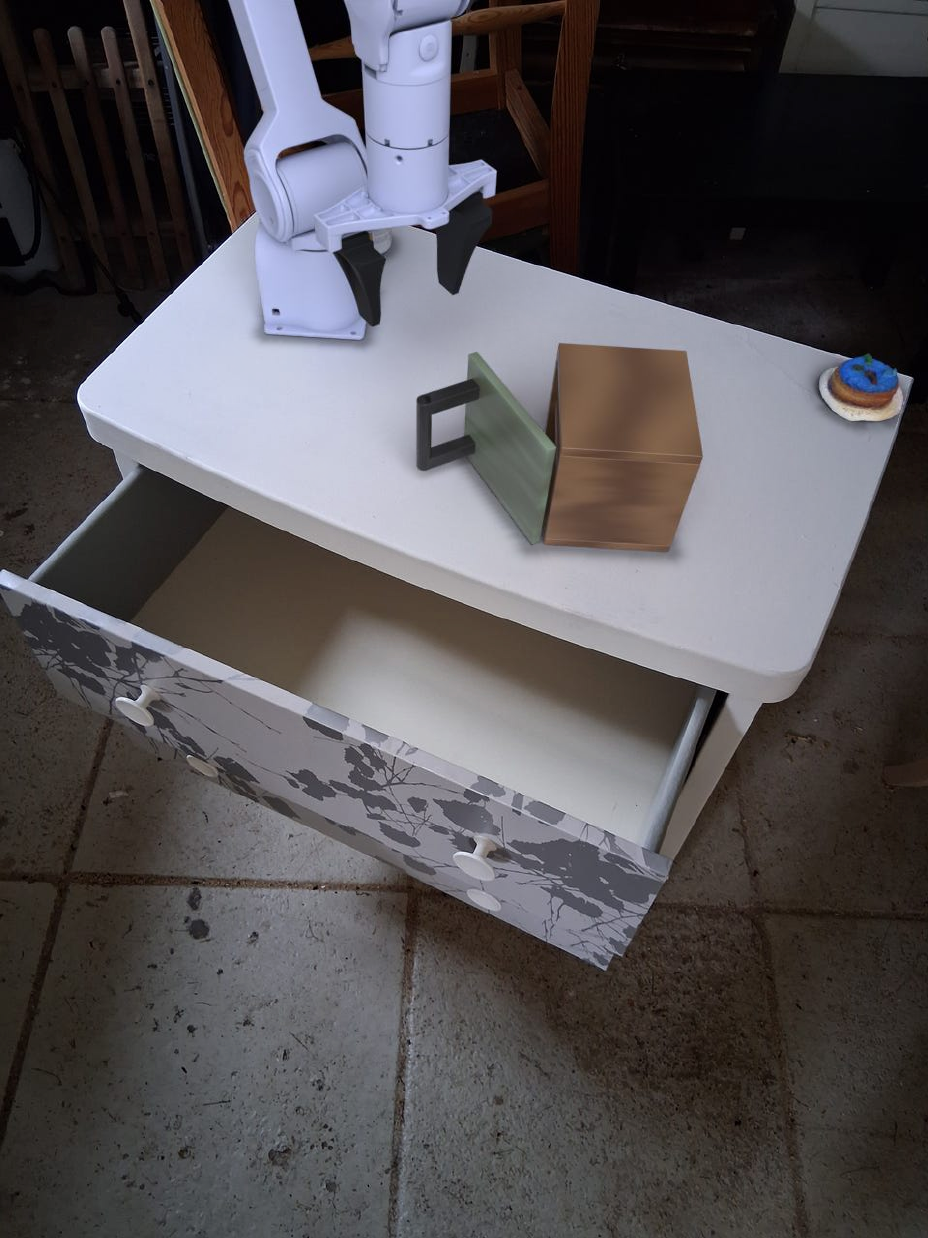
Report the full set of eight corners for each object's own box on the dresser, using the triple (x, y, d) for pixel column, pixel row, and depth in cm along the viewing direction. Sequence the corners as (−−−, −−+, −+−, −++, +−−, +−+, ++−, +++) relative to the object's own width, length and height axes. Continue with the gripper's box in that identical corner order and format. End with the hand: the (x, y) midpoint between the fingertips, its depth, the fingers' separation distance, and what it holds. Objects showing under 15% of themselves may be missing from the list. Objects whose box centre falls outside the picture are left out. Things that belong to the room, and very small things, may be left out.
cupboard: (543, 545, 71) (561, 447, 62) (542, 443, 78) (558, 342, 69) (668, 552, 71) (703, 456, 62) (656, 450, 78) (686, 350, 69)
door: (475, 567, 69) (483, 473, 61) (409, 470, 75) (408, 372, 66) (540, 541, 71) (556, 446, 63) (470, 449, 77) (477, 350, 68)
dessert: (833, 420, 80) (847, 351, 78) (800, 412, 86) (812, 348, 84) (916, 426, 81) (932, 358, 79) (878, 417, 87) (891, 354, 85)
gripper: (345, 184, 56) (358, 361, 67) (527, 126, 61) (511, 299, 72) (290, 136, 59) (311, 313, 70) (467, 85, 64) (461, 256, 75)
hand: (409, 303), depth 71 cm, fingers open, 7 cm apart
